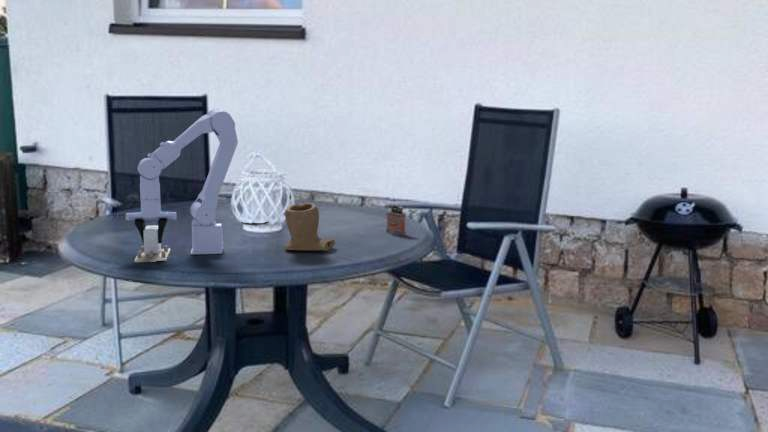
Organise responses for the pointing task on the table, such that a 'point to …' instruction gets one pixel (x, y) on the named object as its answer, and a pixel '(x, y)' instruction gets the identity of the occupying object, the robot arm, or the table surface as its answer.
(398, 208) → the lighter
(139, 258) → the birch pin tray
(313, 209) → the brown hollow piece
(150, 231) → the block
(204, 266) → the table surface
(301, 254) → the table surface
